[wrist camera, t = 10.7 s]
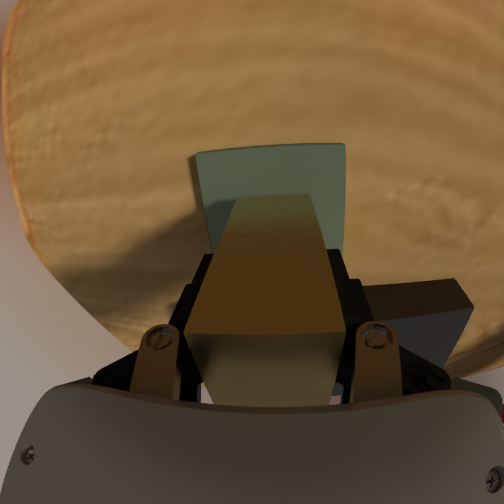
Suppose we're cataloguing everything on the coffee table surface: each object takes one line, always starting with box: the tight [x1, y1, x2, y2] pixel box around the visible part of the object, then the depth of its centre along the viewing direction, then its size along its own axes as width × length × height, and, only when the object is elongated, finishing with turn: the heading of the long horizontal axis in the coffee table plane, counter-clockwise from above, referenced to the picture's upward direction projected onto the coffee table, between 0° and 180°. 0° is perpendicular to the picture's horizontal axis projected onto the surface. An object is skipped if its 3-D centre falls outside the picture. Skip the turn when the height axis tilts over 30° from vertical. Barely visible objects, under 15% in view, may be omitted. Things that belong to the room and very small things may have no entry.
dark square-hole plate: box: [331, 278, 474, 396], centre depth 21 cm, size 22×10×4 cm, turn 96°
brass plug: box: [183, 194, 346, 407], centre depth 12 cm, size 4×4×10 cm
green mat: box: [195, 143, 346, 255], centre depth 18 cm, size 9×9×1 cm
